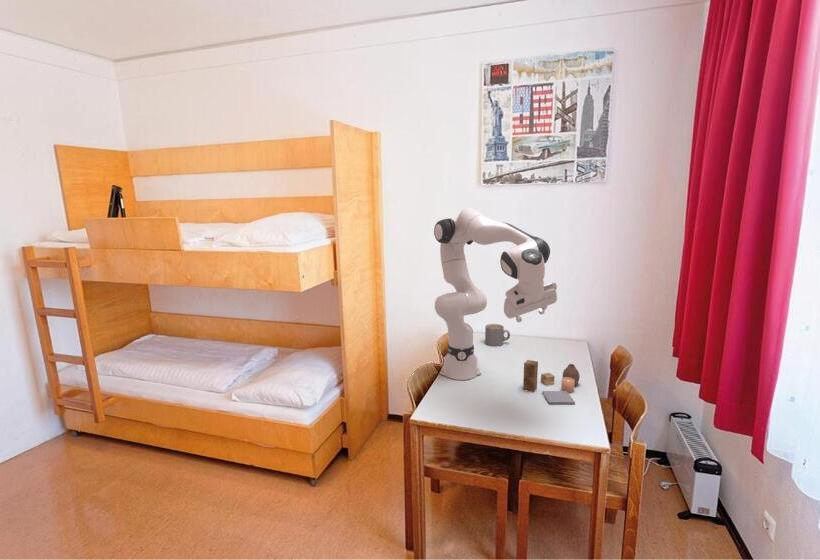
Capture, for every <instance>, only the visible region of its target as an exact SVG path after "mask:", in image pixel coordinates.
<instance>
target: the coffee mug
mask: <svg viewBox="0 0 820 560" xmlns="http://www.w3.org/2000/svg"><path fill="white" fill-rule="evenodd" d="M484 327H485V333H484V336H485V337H484V344H485V345H486V346H489V347H492V348H493V347H494V346H495V348H497V346H498V347H502V346H503V345H504V342H505V341H507V340H509V339H510V337H511V332H510V330H508V329H505V327H504V325H502V324H498V323H489V324H486V325H485V326H484ZM505 333H507V336H505Z"/></svg>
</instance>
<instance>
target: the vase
mask: <svg viewBox="0 0 820 560" xmlns="http://www.w3.org/2000/svg"><path fill="white" fill-rule="evenodd" d="M563 377H570V378H573V379H574V380H575V383H574V387H575V386H577V385H578V383H579V382H580V378H581V377H580V372H579V371H578V368H577V367H576V366H575V364H573V363H569V364H568V365H567V367H565V369H564V370H563V372H562V378H563Z"/></svg>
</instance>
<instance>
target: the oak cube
mask: <svg viewBox="0 0 820 560" xmlns="http://www.w3.org/2000/svg"><path fill="white" fill-rule="evenodd" d="M540 383H541V384H543V385H544V386H545V387H546V386H552V385H553V386H554V385H555V375H554V374H553V373H551V372H543V373H541V374H540Z"/></svg>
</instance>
